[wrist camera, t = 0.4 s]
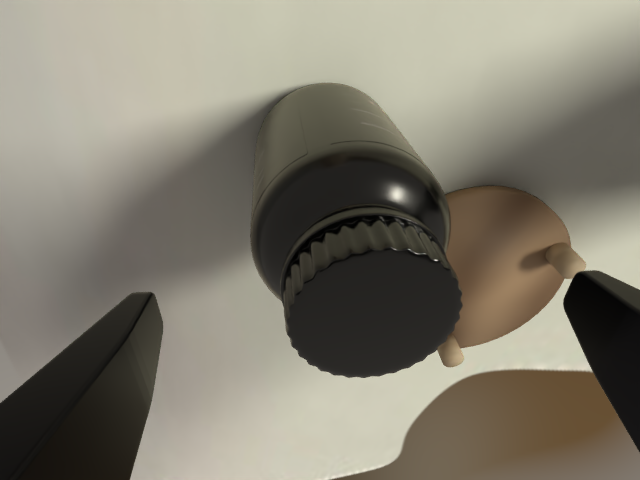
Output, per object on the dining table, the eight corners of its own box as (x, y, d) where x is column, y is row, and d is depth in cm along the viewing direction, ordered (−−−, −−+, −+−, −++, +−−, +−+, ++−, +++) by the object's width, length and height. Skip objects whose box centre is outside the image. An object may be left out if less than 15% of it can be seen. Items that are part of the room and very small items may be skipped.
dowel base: (598, 195, 24) (630, 219, 22) (514, 341, 30) (532, 370, 28) (397, 175, 22) (410, 199, 20) (354, 335, 29) (360, 365, 26)
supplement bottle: (331, 230, 24) (371, 428, 14) (228, 159, 21) (186, 345, 11) (421, 139, 21) (551, 302, 11) (319, 44, 18) (371, 149, 8)
